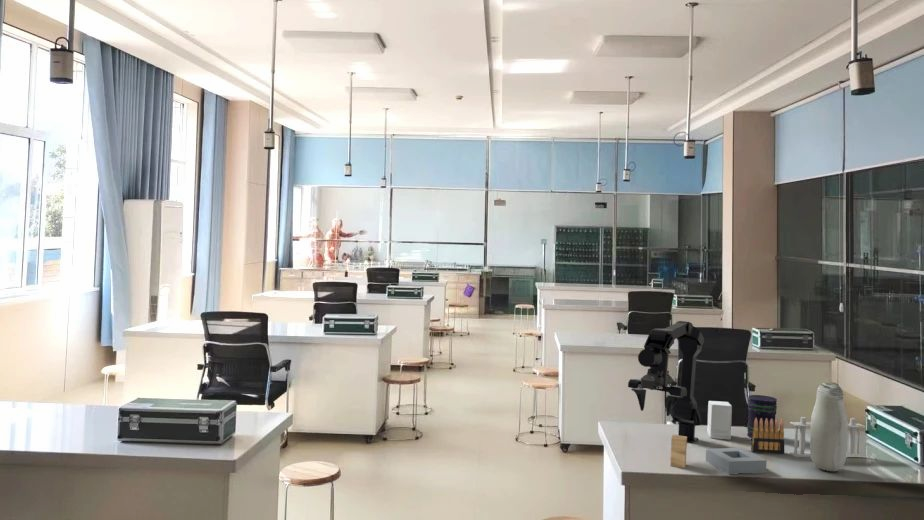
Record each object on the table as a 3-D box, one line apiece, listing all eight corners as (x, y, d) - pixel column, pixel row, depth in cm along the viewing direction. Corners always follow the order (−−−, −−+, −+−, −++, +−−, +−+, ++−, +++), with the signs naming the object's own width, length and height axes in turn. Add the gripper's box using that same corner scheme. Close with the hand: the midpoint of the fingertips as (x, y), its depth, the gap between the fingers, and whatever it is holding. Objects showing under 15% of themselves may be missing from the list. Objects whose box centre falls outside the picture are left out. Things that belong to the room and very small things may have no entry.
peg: (671, 462, 216) (672, 434, 216) (685, 464, 215) (687, 436, 214) (670, 465, 212) (671, 438, 212) (684, 468, 211) (686, 440, 210)
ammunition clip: (782, 452, 231) (783, 418, 231) (784, 454, 229) (786, 419, 229) (750, 450, 232) (752, 416, 232) (752, 452, 230) (754, 418, 230)
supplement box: (731, 440, 245) (732, 406, 244) (709, 438, 246) (711, 404, 246) (727, 434, 252) (728, 401, 252) (706, 432, 253) (708, 400, 253)
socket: (705, 460, 219) (706, 448, 219) (741, 459, 221) (741, 447, 221) (728, 474, 206) (729, 461, 206) (766, 472, 208) (766, 460, 208)
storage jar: (780, 441, 245) (782, 401, 244) (753, 440, 245) (755, 400, 244) (768, 434, 255) (769, 395, 254) (742, 433, 255) (744, 394, 254)
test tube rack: (857, 454, 232) (858, 417, 232) (865, 458, 228) (867, 420, 227) (787, 453, 231) (789, 415, 230) (794, 457, 226) (796, 418, 226)
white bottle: (852, 473, 210) (856, 386, 210) (826, 476, 207) (830, 387, 207) (827, 463, 220) (831, 379, 219) (802, 465, 217) (805, 380, 216)
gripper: (622, 362, 224) (618, 409, 223) (675, 371, 211) (671, 420, 210) (637, 362, 232) (633, 407, 231) (689, 370, 220) (685, 418, 219)
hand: (654, 413), depth 222 cm, fingers open, 9 cm apart
